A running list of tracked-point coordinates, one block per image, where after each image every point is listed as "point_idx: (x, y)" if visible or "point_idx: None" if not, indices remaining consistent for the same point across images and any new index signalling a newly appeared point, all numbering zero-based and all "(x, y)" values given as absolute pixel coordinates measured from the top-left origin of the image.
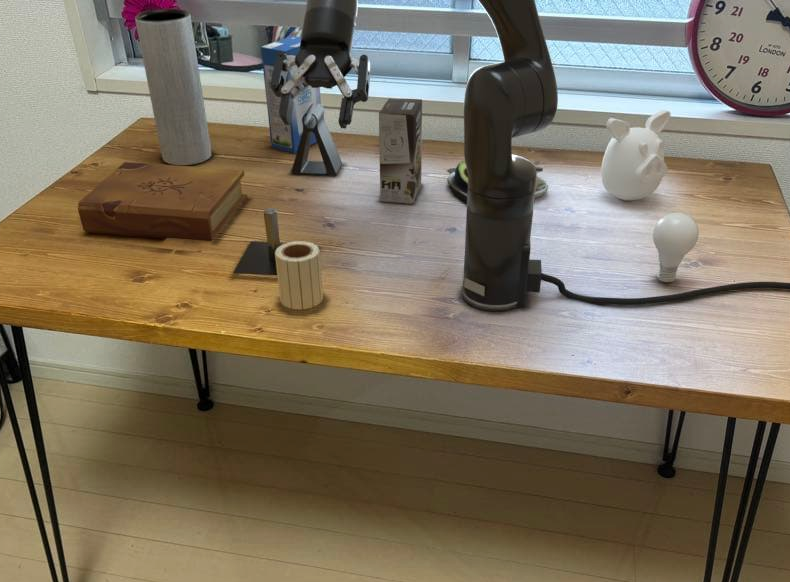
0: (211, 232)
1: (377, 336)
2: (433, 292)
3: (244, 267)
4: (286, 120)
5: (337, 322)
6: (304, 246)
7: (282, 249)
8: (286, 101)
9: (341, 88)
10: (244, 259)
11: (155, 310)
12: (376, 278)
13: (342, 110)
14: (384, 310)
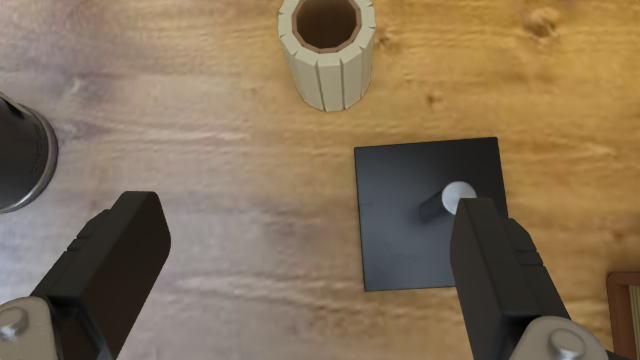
0: (622, 277)
1: (187, 5)
2: (108, 152)
3: (482, 162)
4: (459, 203)
5: (257, 30)
6: (317, 49)
7: (361, 21)
8: (504, 269)
9: (46, 356)
10: (496, 195)
11: (585, 5)
12: (216, 185)
13: (109, 231)
14: (186, 79)
